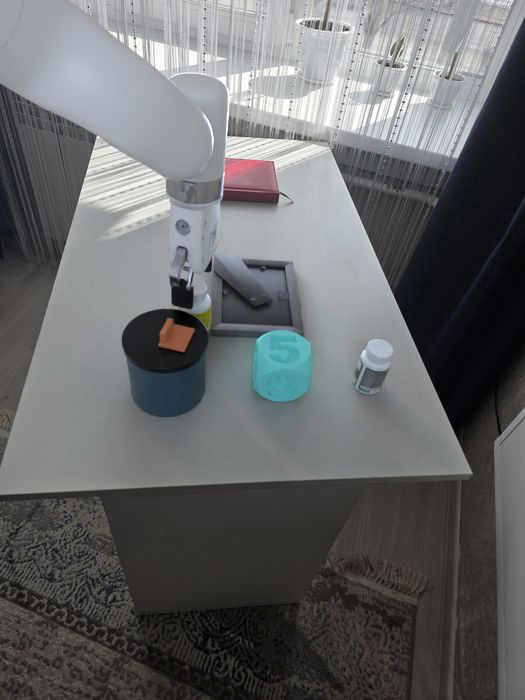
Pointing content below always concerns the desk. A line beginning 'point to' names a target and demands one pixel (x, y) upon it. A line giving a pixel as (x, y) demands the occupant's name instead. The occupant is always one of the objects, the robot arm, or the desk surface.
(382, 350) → the pill bottle
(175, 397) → the travel mug
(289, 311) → the picture frame
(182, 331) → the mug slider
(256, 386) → the decorative dice
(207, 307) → the supplement bottle
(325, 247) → the desk surface
